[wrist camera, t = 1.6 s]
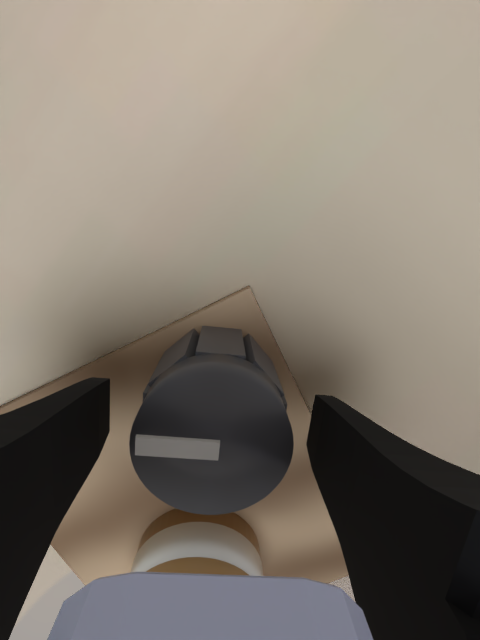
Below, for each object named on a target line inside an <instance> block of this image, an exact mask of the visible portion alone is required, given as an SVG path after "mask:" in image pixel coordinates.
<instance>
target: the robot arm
mask: <svg viewBox="0 0 480 640" xmlns="http://www.w3.org/2000/svg"><path fill="white" fill-rule="evenodd" d="M109 432H110V379H109V378H96V377H91V378H88V379H85V380H82V381H80V382H78V383H75V384H73V385H71V386H69V387H66V388H64V389H62V390H60V391H57V392H55V393H53V394H51V395H49V396H46V397H44V398H42V399H39V400H37V401H34V402H32V403H30V404H27V405H25V406H22V407H20V408H17V409H15V410H12V411H10V412H7V413H4V414H1V415H0V640H8V639H9V637H10V635H11V632H12V630H13V627H14V625H15V623H16V620H17V618H18V615H19V613H20V611H21V608H22V606H23V604H24V601H25V599H26V597H27V595H28V592H29V590H30V588H31V586H32V583H33V581H34V579H35V576H36V574H37V572H38V570H39V567H40V565H41V563H42V561H43V559H44V557H45V555H46V552H47V550H48V548H49V546H50V544H51V542H52V539H53V537H54V535H55V533H56V531H57V529H58V527H59V526H60V524H61V522H62V520H63V518H64V516H65V515H66V513H67V511H68V510H69V508H70V506H71V504H72V503H73V501H74V499H75V498H76V496H77V494H78V492H79V491H80V489H81V487H82V486H83V484H84V482H85V481H86V479H87V477H88V475H89V474H90V472H91V470H92V468H93V467H94V465H95V463H96V461H97V460H98V458H99V456H100V454H101V451H102V449H103V447H104V444H105V442H106V439H107V437H108V434H109ZM306 446H307V450H308V455H309V459H310V464H311V468H312V471H313V474H314V476H315V479H316V482H317V484H318V487H319V490H320V492H321V495H322V497H323V500H324V503H325V505H326V508H327V510H328V513H329V515H330V518H331V521H332V523H333V526H334V528H335V531H336V534H337V537H338V540H339V543H340V546H341V549H342V553H343V556H344V560H345V563H346V567H347V571H348V574H349V578H350V582H351V585H352V589H353V593H354V597H355V601H356V603H355V602H354V601H353V600H352V599H351V598H350V597H349V596H348V595H347V594H346V593H345V592H344V591H343V590H342V589H341V588H339V587H337V586H334V585H330V584H327V583H323V582H319V581H315V580H311V579H307V578H303V577H276V576H248V575H220V574H191V573H163V572H130V573H124V574H118V575H112V576H106V577H100V578H98V579H95V580H93V581H92V582H90V583H89V584H87V585H86V586H85V587H83V588H82V589H80V590H79V591H78V592H76V593H75V594H73V595H72V596H70V597H69V598H68V599H66V600H65V601H64V602H63V604H62V607H61V609H60V611H59V614H58V616H57V618H56V621H55V623H54V625H53V627H52V630H51V632H50V634H49V637H48V639H47V640H480V475H478V474H475V473H473V472H470V471H468V470H465V469H463V468H461V467H458V466H456V465H453V464H451V463H449V462H446V461H444V460H442V459H440V458H438V457H436V456H433V455H431V454H429V453H427V452H425V451H423V450H421V449H419V448H417V447H415V446H414V445H412V444H410V443H408V442H406V441H404V440H403V439H401V438H399V437H397V436H396V435H394V434H392V433H391V432H389V431H387V430H386V429H384V428H382V427H381V426H379V425H378V424H376V423H375V422H373V421H371V420H370V419H368V418H367V417H365V416H364V415H362V414H361V413H359V412H358V411H356V410H355V409H353V408H352V407H350V406H349V405H347V404H346V403H344V402H342V401H341V400H339V399H337V398H335V397H333V396H327V395H315V399H314V404H313V410H312V415H311V421H310V426H309V431H308V437H307V442H306Z"/></svg>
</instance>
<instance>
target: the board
mask: <svg viewBox="0 0 480 640" xmlns="http://www.w3.org/2000/svg"><path fill="white" fill-rule="evenodd" d="M202 326H213V327H223V328H234V329H241V330H242V336H243V337H245V336H246V335H247V334H248V333H249V334H250V335H251V336H252V337H253V339H254V340H255V341H256V342H257V343H258V345H259V346H260V347H261V348H262V349H263V351H264V352H265V353H266V354H267V355H268V357H269V358H270V359H271V360H272V362H273V364H274V367H275V370H276V373H277V375H278V378H279V381H280V383H281V386H282V389H283V392H284V394H285V395H284V396H285V399H286V402H287V410H286V412H287V415H288V418H289V421H290V424H291V427H292V432H293V441H294V447H293V455H292V459H291V463H290V465H289V468H288V470H287V472H286V474H285V476H284V477H283V479H282V481H281V482H280V483H279V484H278V486H277V487H276V488H275V489H274V490H273V491H272V492H271V493H270V494H269V495H267V496H266V497H265V498H263V499H262V500H260V501H259V502H257V503H256V504H254V505H252V506H250V507H247V508H245V509H242V510H239V511H236V512H233V513H235V514H237V515H238V516H240V517H241V518H242V519H244V520H245V521H246V522H247V523H248V524H249V525H250V527H251V528H252V529H253V531H254V533H255V535H256V537H257V540H258V544H259V551H260V559H261V562H262V570H263V576H276V577H303V578H307V579H311V580H315V581H319V582H323V583H327V584H328V583H330V582H333V581H335V580H338V579H340V578H343V577H345V576H348V575H349V574H348V571H347V567H346V563H345V560H344V556H343V553H342V549H341V546H340V543H339V540H338V537H337V534H336V531H335V528H334V526H333V523H332V521H331V518H330V515H329V513H328V510H327V508H326V505H325V503H324V500H323V497H322V495H321V492H320V490H319V487H318V484H317V482H316V479H315V476H314V474H313V471H312V468H311V464H310V459H309V455H308V450H307V446H306V442H307V437H308V431H309V426H310V421H311V414H310V412H309V410H308V408H307V406H306V404H305V401H304V399H303V397H302V395H301V393H300V391H299V389H298V387H297V385H296V383H295V381H294V378H293V376H292V374H291V372H290V370H289V368H288V366H287V364H286V362H285V360H284V358H283V355H282V353H281V351H280V349H279V347H278V345H277V343H276V341H275V339H274V337H273V335H272V332H271V330H270V328H269V326H268V324H267V322H266V320H265V318H264V316H263V314H262V312H261V310H260V307H259V305H258V303H257V301H256V299H255V297H254V295H253V293H252V291H251V289H250V287H249V286H248V287H246V288H244V289H242V290H239V291H237V292H235V293H233V294H231V295H229V296H227V297H225V298H223V299H221V300H219V301H217V302H215V303H213V304H211V305H209V306H206V307H204V308H202V309H200V310H198V311H196V312H194V313H192V314H190V315H188V316H186V317H184V318H182V319H180V320H178V321H176V322H173V323H171V324H169V325H167V326H165V327H163V328H161V329H159V330H157V331H155V332H153V333H151V334H149V335H147V336H145V337H143V338H140V339H138V340H136V341H134V342H132V343H130V344H128V345H126V346H124V347H122V348H120V349H118V350H116V351H114V352H112V353H110V354H107V355H105V356H103V357H101V358H99V359H97V360H95V361H93V362H91V363H89V364H87V365H85V366H83V367H81V368H79V369H77V370H75V371H72V372H70V373H68V374H66V375H64V376H62V377H60V378H58V379H56V380H54V381H52V382H50V383H48V384H46V385H44V386H42V387H39V388H37V389H35V390H33V391H31V392H29V393H27V394H25V395H23V396H21V397H19V398H17V399H15V400H13V401H11V402H9V403H6V404H4V405H2V406H0V415H1V414H4V413H7V412H10V411H12V410H15V409H17V408H20V407H22V406H25V405H27V404H30V403H32V402H34V401H37V400H39V399H42V398H44V397H46V396H49V395H51V394H53V393H55V392H57V391H60V390H62V389H64V388H66V387H69V386H71V385H73V384H75V383H78V382H80V381H82V380H85V379H88V378H91V377H96V378H109V379H110V432H109V434H108V437H107V439H106V442H105V444H104V447H103V449H102V451H101V454H100V456H99V458H98V460H97V461H96V463H95V465H94V467H93V468H92V470H91V472H90V474H89V475H88V477H87V479H86V481H85V482H84V484H83V486H82V487H81V489H80V491H79V492H78V494H77V496H76V498H75V499H74V501H73V503H72V504H71V506H70V508H69V510H68V511H67V513H66V515H65V516H64V518H63V520H62V522H61V524H60V526H59V527H58V529H57V531H56V533H55V535H54V537H53V539H52V542H51V545H52V547H53V548H54V549H55V550H56V551H57V553H58V554H59V555H60V556H61V557H62V559H63V560H64V561H65V562H66V563H67V565H68V566H69V567H70V568H71V569H72V571H73V572H74V573H75V574H76V575H77V577H78V578H79V579H80V580H81V581H82V582H83V584H84V585H85V586H86V585H87V584H89V583H90V582H92V581H93V580H95V579H98V578H100V577H106V576H112V575H118V574H124V573H130V572H131V569H132V565H133V561H134V559H135V556H136V554H137V551H138V547H139V544H140V540H141V538H142V536H143V534H144V532H145V531H146V529H147V528H148V527H149V525H150V524H151V523H152V522H153V521H154V520H156V519H157V518H158V517H160V516H161V515H163V514H164V513H166V512H168V511H171V510H173V509H176V508H174V507H172V506H170V505H168V504H166V503H165V502H163V501H161V500H160V499H158V498H157V497H156V496H155V495H153V494H152V493H151V492H150V491H149V490H148V489H147V488H146V487H145V486H144V484H143V483H142V482H141V480H140V479H139V477H138V475H137V473H136V472H135V469H134V467H133V464H132V461H131V456H130V448H129V440H130V432H131V429H132V425H133V422H134V420H135V418H136V415H137V413H138V411H139V409H140V407H141V405H142V403H143V392H144V390H145V388H146V386H147V384H148V382H149V380H150V378H151V376H152V375H153V373H154V371H155V369H156V367H157V365H158V363H159V361H160V359H161V357H162V355H163V353H164V352H165V351H166V350H167V349H168V348H170V347H171V346H172V345H173V344H175V343H176V342H177V341H178V340H180V339H181V338H182V337H183V336H185V335H186V334H187V333H188V332H190V331H191V330H192V329H193V328H194V329H195V330H196V331H197V332H198V333H199V334H200V332H201V328H202Z"/></svg>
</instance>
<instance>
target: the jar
mask: <svg viewBox="0 0 480 640" xmlns="http://www.w3.org/2000/svg"><path fill="white" fill-rule="evenodd" d="M131 572H163V573H191V574H220V575H248V576H263V570H262V562H261V559H260V551H259V544H258V540H257V537H256V535H255V533H254V531H253V529H252V528H251V527H250V525H249V524H248V523H247V522H246V521H245V520H244V519H242V518H241V517H240V516H238V515H237V514H235V513H233V512H232V513H227V514H219V515H202V514H194V513H190V512H185V511H182V510H179V509H173V510H171V511H168V512H166V513H164V514H163V515H161V516H160V517H158V518H157V519H156V520H154V521H153V522H152V523H151V524H150V525H149V527H148V528H147V529H146V531H145V532H144V534H143V536H142V538H141V540H140V544H139V547H138V551H137V554H136V556H135V559H134V561H133V565H132V569H131Z"/></svg>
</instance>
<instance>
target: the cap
mask: <svg viewBox="0 0 480 640" xmlns="http://www.w3.org/2000/svg"><path fill="white" fill-rule="evenodd" d="M284 395H285V394H284V392H283V389H282V386H281V383H280V381H279V378H278V375H277V373H276V370H275V367H274V364H273V362H272V360H271V359H270V358H269V357H268V355H267V354H266V353H265V352H264V351H263V349H262V348H261V347H260V346H259V345H258V343H257V342H256V341H255V340H254V339H253V337H252V336H251V335H250V334H249V333H248V334H247V335H246V336H245V337H243V336H242V330H241V329H234V328H223V327H213V326H202V328H201V332H200V334H199V333H198V332H197V331H196V330H195V329H194V328H193V329H192V330H191V331H190V332H188V333H187V334H186V335H185V336H183V337H182V338H181V339H180V340H178V341H177V342H176V343H175V344H173V345H172V346H171V347H170V348H168V349H167V350H166V351H165V352H164V353H163V355H162V357H161V359H160V361H159V363H158V365H157V367H156V369H155V371H154V373H153V375H152V376H151V378H150V380H149V382H148V384H147V386H146V388H145V390H144V392H143V403H142V405H141V407H140V409H139V411H138V413H137V415H136V418H135V420H134V422H133V425H132V429H131V432H130V440H129V448H130V456H131V461H132V464H133V467H134V469H135V472H136V473H137V475H138V477H139V479H140V480H141V482H142V483H143V484H144V486H145V487H146V488H147V489H148V490H149V491H150V492H151V493H152V494H153V495H155V496H156V497H157V498H158V499H160V500H161V501H163V502H165V503H166V504H168V505H170V506H172V507H174V508H176V509H179V510H182V511H185V512H190V513H194V514H202V515H219V514H227V513H232V512H236V511H239V510H242V509H245V508H247V507H250V506H252V505H254V504H256V503H257V502H259V501H260V500H262V499H263V498H265V497H266V496H267V495H269V494H270V493H271V492H272V491H273V490H274V489H275V488H276V487H277V486H278V484H279V483H280V482H281V481H282V479H283V477H284V476H285V474H286V472H287V470H288V468H289V465H290V463H291V459H292V455H293V447H294V441H293V432H292V427H291V424H290V421H289V418H288V415H287V412H286V410H287V402H286V399H285V396H284Z"/></svg>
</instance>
